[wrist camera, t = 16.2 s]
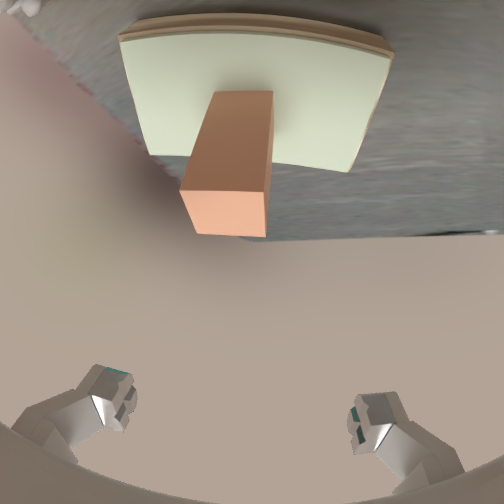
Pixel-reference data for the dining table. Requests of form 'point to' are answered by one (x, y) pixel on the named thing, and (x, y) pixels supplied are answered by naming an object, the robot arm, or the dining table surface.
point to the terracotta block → (232, 165)
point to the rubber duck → (23, 6)
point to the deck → (257, 80)
